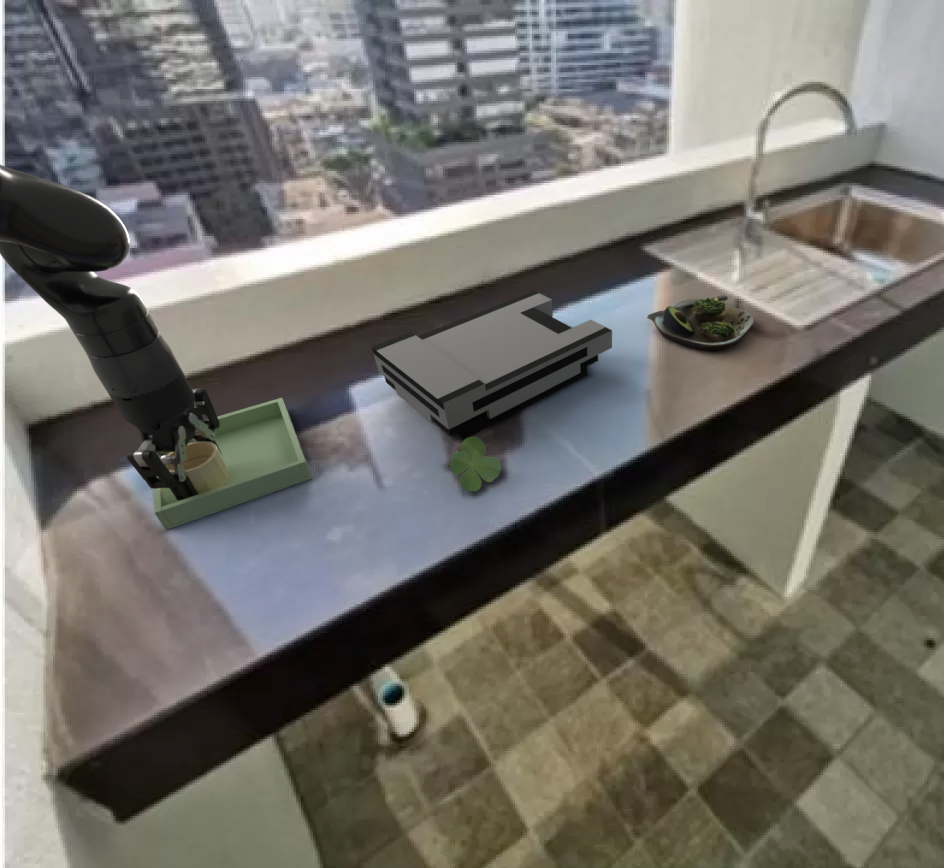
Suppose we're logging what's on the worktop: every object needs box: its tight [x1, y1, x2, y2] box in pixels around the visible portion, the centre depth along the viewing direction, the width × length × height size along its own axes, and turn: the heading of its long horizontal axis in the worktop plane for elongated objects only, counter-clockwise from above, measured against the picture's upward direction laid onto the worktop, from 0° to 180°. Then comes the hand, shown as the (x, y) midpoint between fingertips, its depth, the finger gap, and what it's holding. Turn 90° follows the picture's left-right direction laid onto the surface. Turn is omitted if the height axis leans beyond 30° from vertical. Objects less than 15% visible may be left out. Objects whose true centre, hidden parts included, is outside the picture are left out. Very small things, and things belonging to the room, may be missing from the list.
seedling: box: [447, 436, 502, 492], centre depth 82 cm, size 7×8×7 cm
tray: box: [152, 397, 313, 531], centre depth 84 cm, size 18×18×3 cm
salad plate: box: [646, 295, 754, 352], centre depth 114 cm, size 19×18×5 cm
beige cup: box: [166, 441, 230, 494], centre depth 79 cm, size 6×6×5 cm
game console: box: [371, 290, 613, 441], centre depth 99 cm, size 21×32×8 cm, turn 133°
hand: (203, 480), depth 80 cm, fingers closed on beige cup, 6 cm apart
